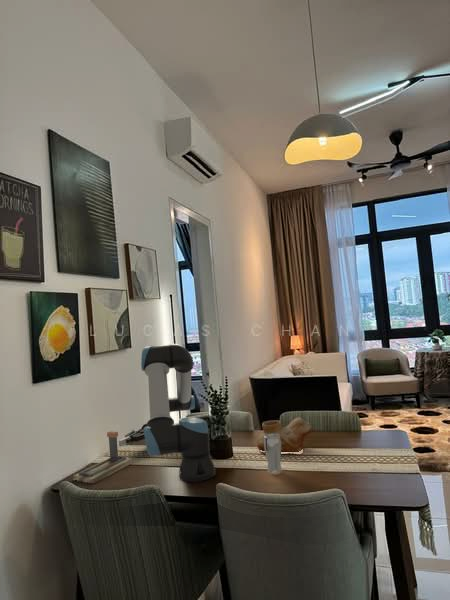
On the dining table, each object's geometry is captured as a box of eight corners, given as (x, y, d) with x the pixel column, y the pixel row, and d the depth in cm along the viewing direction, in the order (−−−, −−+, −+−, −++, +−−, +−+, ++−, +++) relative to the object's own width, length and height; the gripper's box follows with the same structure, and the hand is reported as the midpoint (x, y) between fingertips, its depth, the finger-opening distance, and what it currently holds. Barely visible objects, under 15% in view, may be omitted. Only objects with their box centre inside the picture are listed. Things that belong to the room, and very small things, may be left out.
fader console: (131, 463, 197) (131, 456, 197) (93, 483, 176) (93, 475, 176) (112, 460, 203) (112, 454, 203) (73, 480, 182) (72, 472, 182)
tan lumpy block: (314, 455, 190) (311, 421, 190) (256, 456, 194) (253, 423, 194) (313, 445, 203) (310, 414, 204) (259, 446, 208) (256, 416, 208)
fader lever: (120, 460, 196) (118, 431, 196) (116, 462, 194) (114, 433, 194) (112, 459, 198) (110, 431, 198) (108, 461, 196) (106, 432, 196)
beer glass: (282, 475, 169) (279, 438, 170) (265, 475, 171) (262, 438, 171) (283, 469, 176) (281, 433, 176) (267, 469, 177) (264, 433, 178)
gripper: (161, 437, 218) (131, 452, 197) (142, 435, 224) (110, 450, 203) (160, 422, 218) (130, 436, 197) (141, 421, 224) (109, 434, 203)
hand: (120, 443), depth 200 cm, fingers closed
